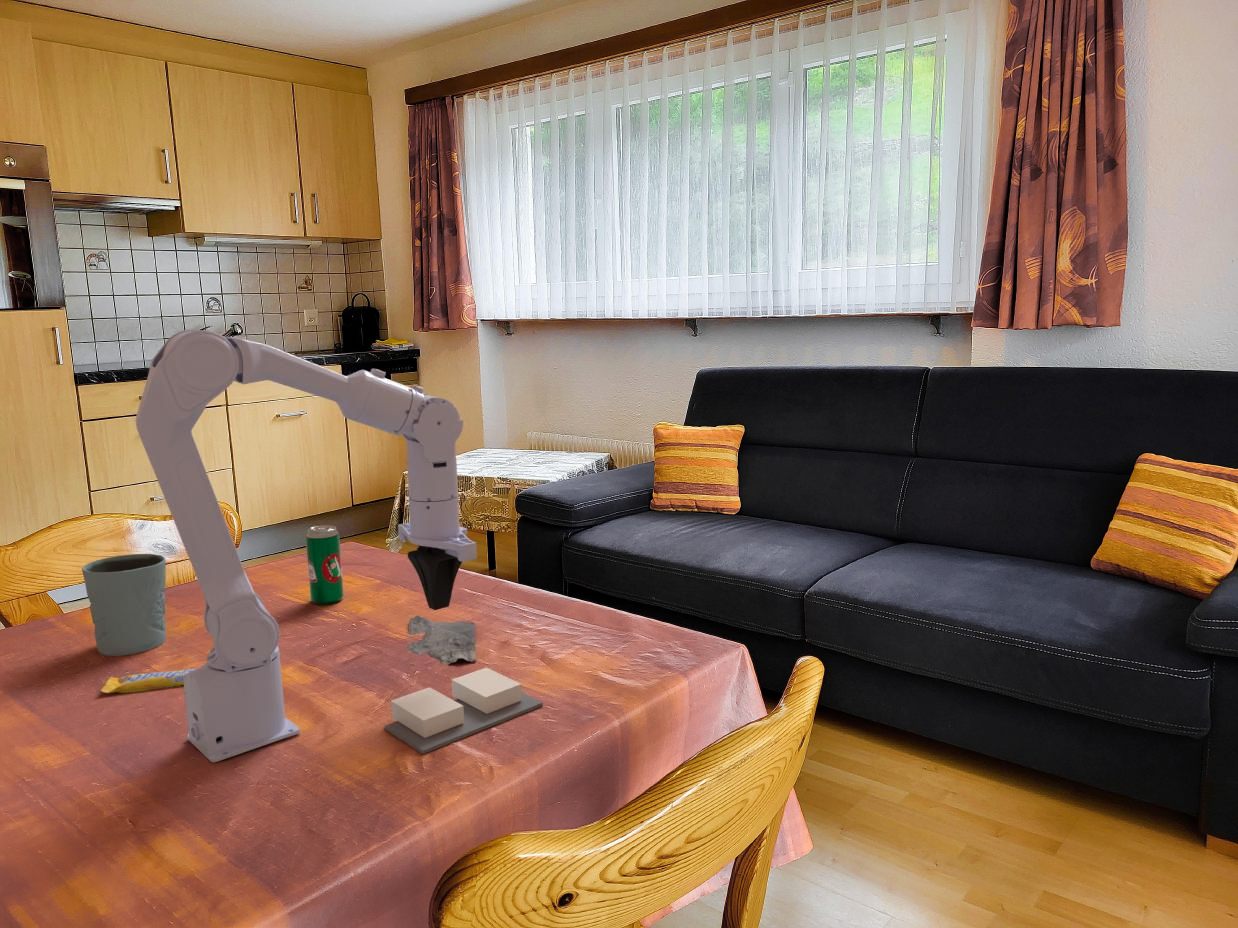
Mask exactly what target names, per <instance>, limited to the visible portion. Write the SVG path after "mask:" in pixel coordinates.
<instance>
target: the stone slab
mask: <svg viewBox="0 0 1238 928" xmlns="http://www.w3.org/2000/svg"><path fill="white" fill-rule="evenodd" d="M407 632H408V634H409V635H411V636H412V635H416V634H417V636H418V635H420V634H424V635H423V636H422V638H421V640H420V641H418V642H417V640H416V639H414V641H413V642H411V643H410V644H408V645H407V647H406V648H405V651H411V653H413V654H415V655H417V656H419V657H421V656H422V654H423V653H426V654H427V655H428V656H429V657H430V658H434V659H435V660H437V661H439V663H440V664H441V665H443V664H446V665H447V666H449V665H450V664H453V663H455V662H458V660H459V659H462V660H465V661H467V662H470V663H476V660H477V658H476V657H477V656H476V654H477V653H476V624H475V623H474V622H472V621H470V622H469V621H464V620H463V621H462V620H460V621H455V622H453V621H452V622H448V621H440V622H435V621H432V620H430V619H428V618H426V617H424V616H421V615H416V616H414V617H409V622H408V631H407ZM409 639H410V637H408V636H406V641H408V640H409ZM410 666H413V667H414V666H416V665H415V664H414V663H411V664H410Z"/></svg>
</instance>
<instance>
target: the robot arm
mask: <svg viewBox="0 0 1238 928" xmlns="http://www.w3.org/2000/svg"><path fill="white" fill-rule="evenodd" d="M386 375H387V374H386V372H385V371H382V370H380V369H377V368H371V369H370V371H367V370H365V369H361V370H358V371H356V372H353V373H351V374H348V375H344V374H341V373H339V372H337V371H334V370H331V369H328V368H326V367H323V366H321V365H319V364H316V363H314V362H312V361H308V360H306V359H303V358H301V357H298V356H296V355H294V354H291V353H288V352H286V351H283V350H281V349H278V348H276V347H273V346H271V345H269V344H265V343H260V342H257V341H252V340H247V339H243V338H237V337H234V336H233V337H232V336H223V335H221V334H220V333H217V332H214V331H212V330H211V331H210V330H201V329H200V330H198V329H186V330H181V331H179V332H177V333H174V334H173V335H172V336H170V337H169V338H168V339H167V340H166V341H165V342H164V344H163V345H162V346H161V348H160V349H159V350H158V352H157V353H156V354H155V355H154V357H153V358H152V359H151V362H150V366H149V371H148V375H147V378H146V382H145V385H144V388H143V392H142V394H141V395H142V396H141V398H140V399H141V400H140V402H139V406H138V410H137V413H136V416H135V427H136V430H137V432H138V433H137V434H138V435H139V438H140V439H141V440H140V441H141V443H142V446H143V447H144V451H145V452H146V456H147V459H148V460H149V462H150V465H151V468H152V469H153V470H152V471H153V472H154V475H155V477H156V480H157V483H158V485H159V487H160V490H161V493H162V495H163V498H164V500H165V502H166V504H167V507H168V509H169V511H170V514H171V517H172V520H173V522H174V525H175V527H176V529H177V532H178V535H179V537H180V540H181V542H182V545H183V547H184V548H185V549H184V550H185V551H186V555H187V557H188V559H189V561H190V564H191V567H192V569H193V571H194V575H195V577H196V578H197V582H198V585H199V586H200V587H199V588H200V590H201V592H202V595H203V597H204V602H205V610H204V615H203V621H204V626H205V629H206V631H207V632H208V634H210V637H211V639H212V641H213V645H212V647H211V649H210V651H209V654H207V655H206V663H205V664H203V665H202V666H200V667H198V669H197V668H195V669H196V670H194V671H191V672H189V673H187V674H186V675H185V678H184V686H183V690H184V691H183V692H184V693H183V695H184V701H185V711H186V721H187V729H188V730H187V731H188V733H187V735H186V737H187V739H188V742H190V743H191V744H192V745H193V746H194V747H196V748H197V749H198V751H199V752H200V753H201V754H203V756H205V758H206V759H208V760H209V761H210V762H211V763H217V762H220V761H222V760H226V759H229V758H231V757H235V756H237V755H240V754H243V753H246V752H249V751H251V750H255V749H257V748H261V747H264V746H266V745H269V744H272V743H275V742H278V741H281V740H284V739H287V738H289V737H292V736H295V735H298V734H299V733H301V728H300V727H299V726H298V725H296V724H295V723H294V722H293V721H291V720H290V719H288V717H286V714H285V713H286V712H285V700H284V692H283V691H284V689H283V680H282V679H283V678H282V667H281V666H282V665H281V656H280V648H279V641H280V628H279V627H280V626H279V624H278V622H277V620H276V619H275V617H273V615H271V614H270V613H269V612H268V610H267V608H266V606H265V605H264V602H263V600H262V598H261V597H260V596H259V595H258V594H257V593H256V592H255V591H254V588H253V586H252V584H251V582H250V580H249V578H248V576H247V573H246V571H245V568H244V566H243V563H242V561H241V558H240V555H239V553H238V551H237V548H236V545H235V543H234V540H233V538H232V535H231V532H230V530H229V527H228V525H227V522H226V519H225V516H224V514H223V512H222V509H221V506H220V504H219V501H218V499H217V496H216V493H215V491H214V488H213V486H212V483H211V481H210V477H209V475H208V471H207V470H206V467H205V465H204V462H203V460H202V457H201V454H200V451H199V450H198V446H197V444H196V441H195V439H194V437H193V433H192V431H193V428H194V427H195V425H196V424H197V422H198V421H199V419H200V418H201V416H202V414H203V413H204V411H205V409H206V408H207V405H209V404H210V403H211V402H212V401H214V399H216V398H217V397H218V396H220V395H221V394H222V393H223V392H224V391H226V390H227V389H228V388H229V387H230V386H231V385H232V384H233V383H234V382H236V383H238V384H241V385H249V384H253V383H254V384H255V383H259V382H264V381H271V382H273V383H276V384H278V385H279V384H280V385H283V386H286V387H289V388H291V389H292V388H293V389H296V390H298V391H300V392H301V391H302V392H304V393H308V394H310V395H314V396H316V397H320V398H323V399H327V400H330V401H333V402H335V403H336V404H337V406H338V407H339V409H340V412H341V414H342V415H343V417H344V418H345V419H348V420H351V421H354V422H356V423H358V424H359V423H360V424H363V425H365V426H368V427H371V428H374V429H377V430H379V431H383V432H387V433H388V434H392V435H395V436H401V435H402V436H403V438H405V439H406V443H405V444H406V456H407V457H406V467H407V469H406V472H407V488H408V508H409V509H408V510H409V521H410V522H405V523H401V524H400V523H399V524H398V525H397V531H398V540H399V541H403V542H405V541H408V542H409V543H411V544H412V545H414V546H415V545H416V546H418V547H416V550H410V551H408V552H407V554H406V555H407V558H408V560H409V562H410V563H411V564H412V566H413V568H414V570H415V571H416V574H417V576H418V578H419V581H420V584H421V585H422V587H421V588H422V589H423V593H424V596H425V600H426V602H427V605H428V608H429V609H431V610H434V611H438V610H441V609H444V608H449V607H450V604H451V598H452V594H453V589H454V585H455V581H456V578H457V574H458V572H459V569H460V568H461V565H462V563H464V562H467V561H472V560H476V559H477V558H478V553H477V550H478V549H477V542H476V541H473V540H471V539H470V538H468V537H467V536H466V535H468V528H466V527H463V526H460V513H459V511H460V509H459V488H458V487H459V485H458V484H459V483H458V468H457V467H458V463H457V454H456V452H457V451H456V443H457V441H458V439H459V438H460V437H461V435H462V432H463V428H464V420H462V419H460V418H461V417H460V414H459V412H458V409H457V408H456V407H455V406H454V404H453V403H452V402H450V401H449V400H448V399H446V398H442V397H437V396H432V395H428V394H427V393H425V392H424V391H425V390H424V387H422V386H419V385H414V384H413V385H412V386H411V387H410V386H407V385H405V384H402V383H399V382H396V381H394V380H392V379H388V378H386V377H385V376H386Z"/></svg>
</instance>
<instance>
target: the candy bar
mask: <svg viewBox="0 0 1238 928" xmlns="http://www.w3.org/2000/svg"><path fill="white" fill-rule="evenodd" d="M198 668H199V667H198ZM198 668H191V669H190V668H188V669H181V670H171V671H170V670H169V671H161V672H160V671H158V672H149V673H137V674H129V675H125V676H121V677H120V678H119V677H114V676H110V677H109V678H108V679H107V680H106V682H105V683H104V686H102V687H101V688H100V692H102V693H105V694H111V693H119V694H120V693H121V694H126V693H127V694H128V692H129V693H136V692H145V691H146V690H147V691H152V690H151V689H155V690H160V688H163V689H169V688H168V687H170V688H174V687H173V686H179V687H181V686H180V685H184V678H185V675H186V674H187V673H189V672H191V671H194V670H196V669H198Z"/></svg>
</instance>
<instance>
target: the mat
mask: <svg viewBox="0 0 1238 928" xmlns="http://www.w3.org/2000/svg"><path fill="white" fill-rule="evenodd" d="M453 700H454V701H455V702H457V703H459V704H461V705H463V710H464V723H462V724H460V725H458V726H455V727H453V728H450V729H448V730H445V731H442V732H440V733H437V734H435V735H432V736H430V737H427V738H424V737H422V736H421V735H419V734H418V733H416V732H414V731H413V730H411V729H410V728H408V727H406V726H405V725H403V724H402V723H400V722H398V721H397V720H395V721H393V722H391V723H389V724H386V725H384V727H383V728H384V730H385V731H387V732H388V733H390V734H391V735H393V736H395V737H396V738H397V739H398V740H401V741H402V742H403V743H405V744H406V745H408V746H410V747H411V748H412V749H413V750H416V751H417V752H419V753H420V754H422V755H424V754H427V753H429V752H431V751H434V750H437V749H439V748H442V747H444V746H447V745H448V744H452V743H454V742H456V741H459V740H462V739H464V738H466V737H468V736H471V735H474V734H476V733H479V732H481V731H484V730H486V729H488V728H491V727H494V726H496V725H499V724H501V723H504V722H506V721H508V720H511V719H513V718H516V717H518V716H521V715H523V714H526V713H528V712H530V711H534V710H537V709H539V708H541V707H543V706H544V705H543V704H544V703H543V702H542V701H540V700H538V699H536V698H534V697H532V696H530V695H528V694H526V693H524V692H522V700H521V701H519V702H517V703H514V704H512V705H509V706H506V707H504V708H501V709H499V710H496V711H494V712H491V713H489V714H486V713H484V712H482V711H480V710H478V709H477V708H475V707H473V706H471V705H469V704H467V703H465V702H464V701H462V700H460V699H458V698H456V699H453Z"/></svg>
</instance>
